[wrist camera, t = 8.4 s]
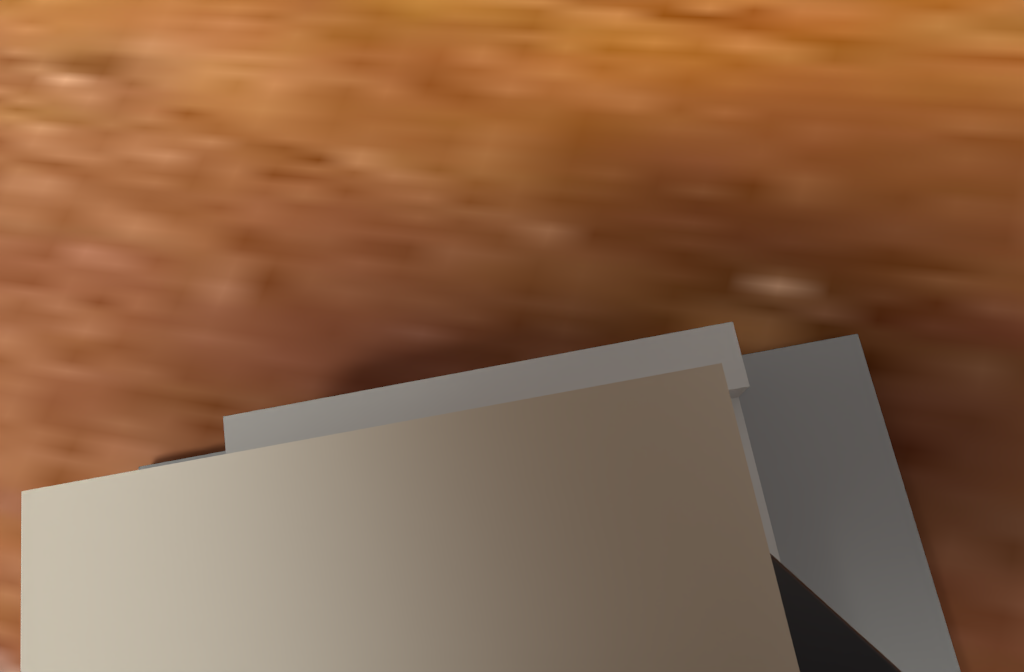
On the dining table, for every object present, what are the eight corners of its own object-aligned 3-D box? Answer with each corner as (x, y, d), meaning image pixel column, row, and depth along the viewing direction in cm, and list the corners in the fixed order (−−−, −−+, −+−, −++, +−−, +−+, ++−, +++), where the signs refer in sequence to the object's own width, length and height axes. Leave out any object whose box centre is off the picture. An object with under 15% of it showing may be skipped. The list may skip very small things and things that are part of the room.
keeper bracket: (171, 998, 15) (55, 1124, 12) (148, 468, 18) (49, 448, 15) (1009, 861, 15) (1138, 952, 11) (851, 338, 17) (916, 287, 14)
